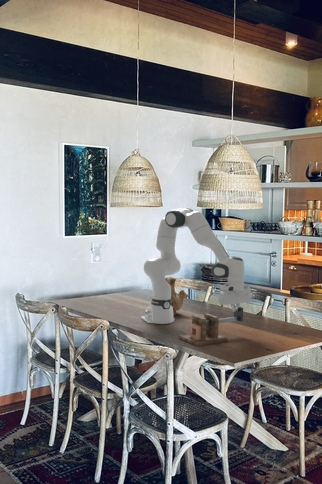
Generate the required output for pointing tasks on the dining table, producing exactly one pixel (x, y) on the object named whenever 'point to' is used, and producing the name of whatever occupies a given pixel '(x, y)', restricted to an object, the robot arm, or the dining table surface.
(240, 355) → the dining table surface
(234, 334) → the dining table surface
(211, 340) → the stand
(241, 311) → the shaft
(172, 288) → the tan plush toy
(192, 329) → the spacer
